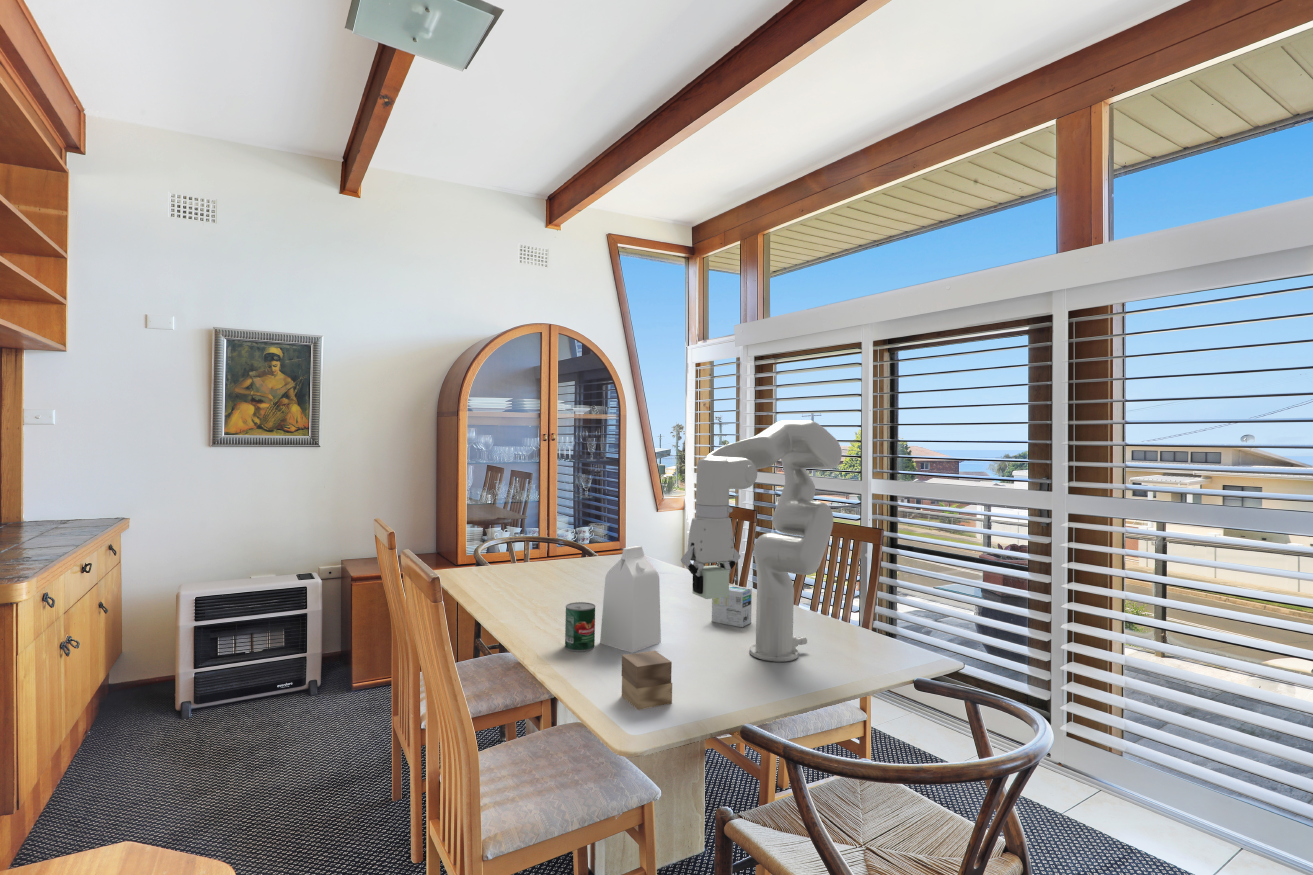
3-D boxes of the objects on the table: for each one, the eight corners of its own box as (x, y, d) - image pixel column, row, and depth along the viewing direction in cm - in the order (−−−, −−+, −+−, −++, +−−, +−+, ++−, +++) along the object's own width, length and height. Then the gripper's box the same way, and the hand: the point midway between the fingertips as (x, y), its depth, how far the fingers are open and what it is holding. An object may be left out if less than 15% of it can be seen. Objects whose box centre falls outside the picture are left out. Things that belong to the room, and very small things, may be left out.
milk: (629, 633, 191) (631, 542, 191) (660, 642, 184) (663, 547, 184) (599, 643, 182) (602, 547, 182) (631, 652, 175) (634, 552, 175)
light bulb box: (752, 622, 206) (752, 587, 206) (742, 627, 200) (743, 591, 200) (720, 617, 211) (721, 582, 211) (710, 621, 206) (711, 586, 206)
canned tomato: (573, 640, 183) (574, 600, 183) (599, 644, 181) (600, 603, 181) (559, 649, 176) (560, 607, 176) (586, 653, 173) (587, 610, 173)
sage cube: (714, 590, 157) (715, 565, 157) (728, 596, 152) (729, 570, 152) (692, 593, 155) (693, 567, 155) (706, 599, 149) (706, 572, 149)
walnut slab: (654, 670, 149) (655, 650, 149) (671, 683, 142) (671, 661, 142) (621, 675, 146) (621, 654, 146) (636, 688, 138) (637, 666, 138)
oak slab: (654, 691, 149) (654, 670, 149) (671, 704, 142) (672, 682, 142) (621, 696, 145) (622, 676, 145) (637, 710, 138) (638, 688, 138)
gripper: (734, 509, 161) (732, 584, 161) (671, 511, 153) (669, 591, 153) (752, 512, 154) (751, 591, 154) (687, 515, 146) (686, 598, 146)
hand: (710, 590), depth 153 cm, fingers closed on sage cube, 6 cm apart
